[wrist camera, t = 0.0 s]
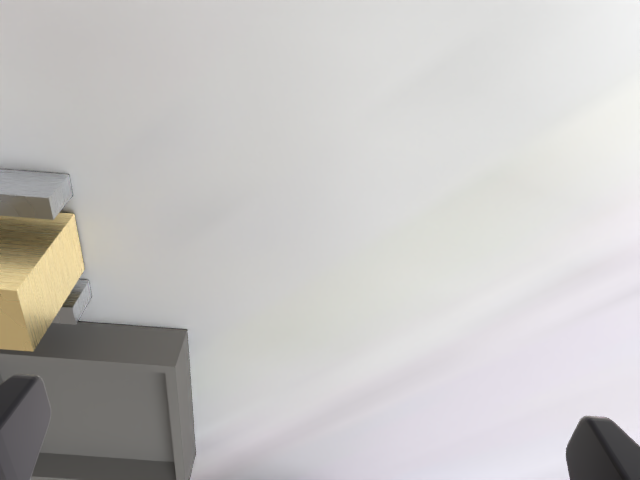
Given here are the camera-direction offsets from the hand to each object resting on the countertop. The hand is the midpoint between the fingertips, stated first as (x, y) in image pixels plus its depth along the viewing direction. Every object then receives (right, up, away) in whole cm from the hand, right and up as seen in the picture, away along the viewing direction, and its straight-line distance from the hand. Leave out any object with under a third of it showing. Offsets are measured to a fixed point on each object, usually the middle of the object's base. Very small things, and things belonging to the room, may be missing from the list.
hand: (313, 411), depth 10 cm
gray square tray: (-12, -5, +22) cm, 25 cm away
